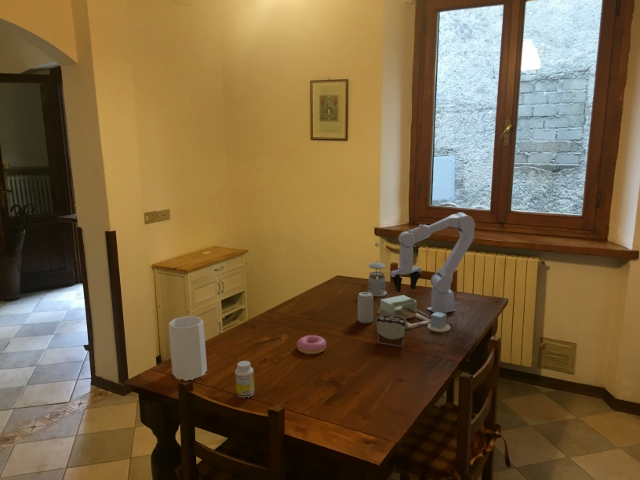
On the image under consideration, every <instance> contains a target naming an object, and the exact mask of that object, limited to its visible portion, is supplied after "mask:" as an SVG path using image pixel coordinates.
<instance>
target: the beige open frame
mask: <svg viewBox="0 0 640 480" xmlns="http://www.w3.org/2000/svg"><path fill="white" fill-rule="evenodd" d="M376 313H377V314H378V315H379V316H380V315H384V314H388V313H386V312H384V311H382V310H380V308H379V309H378V310H377V312H376ZM394 314H395V315H400V316H402V317H404V318H405V319H406V320H407V319H411V318H416V319H418V320H420V321H419V322H414V323H410V322H408V321H407V327H405V330H409V329H413V328H417V327H423V326H425V325H427V326H428V324H429V323H431V315H428V314H426V312H423V311H421V310H419V309H417V312H414V311H412V310H410V309H408V308H406V307H404V306H397V307H394Z"/></svg>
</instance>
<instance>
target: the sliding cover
mask: <svg viewBox="0 0 640 480" xmlns="http://www.w3.org/2000/svg"><path fill="white" fill-rule="evenodd" d="M379 304H380V308H379V309H380V310H382V311H384V312H386V313H388V314H394V308H395V307H400V306H404V307H406V308H408V309H410V310H412V311H414V312H417V310H418V309H417V304H418V301H417V300H416V299H415V298H412V297H411V298H410V297H408V296H406V295H404V294H402V295H397V296H392V297H387V298H381V299H380V303H379Z"/></svg>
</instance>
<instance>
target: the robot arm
mask: <svg viewBox="0 0 640 480" xmlns="http://www.w3.org/2000/svg"><path fill="white" fill-rule="evenodd" d="M447 228H454V229H457V231H458V233H459V236H460V237H459V238H458V240H457V242H456V243H455V245H454V246H453V248H452V250H451V252H450V254H449V255H448V257H447V258H446V260H445V262H444V263H443V265H442V267H441V268H439V269H437V271H436V272H435V273H434V274H433V275H432V276H431V278H430V284H431V285H432V287H431V306H429V307H427V308H426V309H427V310H429V311H430V312H433V313H435V312H440V313H444V314H448V313H450V312H455V311H456V309H455V294H454V292H453V291H452V289H451V287H452V286H451V284H452V282H453V277H454V276H453V275H454V272H455V271H456V270H457V267H458V266H459V265H460V263H461V262H462V260H463V257H464V256H465V254H466V252H467V251H468V249H469V248H470V245H471V244H472V243H473V241H474V240H475V228H476V222H475V220H474V218H473V217H472V216H470V215H467V214H466V213H464V212H462V211H461V212H457V213H454V214H450V215H449V216H447V217H444V218H442V219H440V220H438V221H436V222H433V223H432V224H430V225H426V224H419V225H418V227H417V226H416V227H415V228H413V229H408V230H407V231H402V232H400V234H399V235H398V237H397V239H398V242H399V266H398V269H395V270H392V271H390V277H391V279H392V281H393V284H394V286H395V290H396V292H398V293H401V291H402V282H403V277H402V276H403V275H408V274H409V280H410V283H409V284H410V289H412V290H415V289H416V286H417V284H418V281H419V278H420V277H421V272H422V268H421V267H420V266H416V267H414V265H413V264H414V245H415V243H418V242H422V241H423V240H425V239H427V238H430V237H431V235H432V234H434V233H435V232H440V231H442V230H444V229H447Z"/></svg>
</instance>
